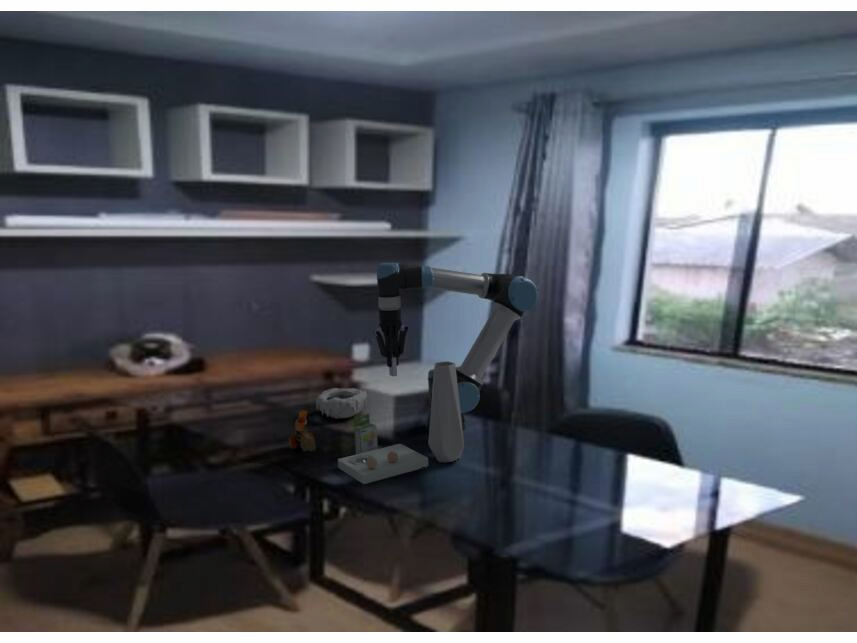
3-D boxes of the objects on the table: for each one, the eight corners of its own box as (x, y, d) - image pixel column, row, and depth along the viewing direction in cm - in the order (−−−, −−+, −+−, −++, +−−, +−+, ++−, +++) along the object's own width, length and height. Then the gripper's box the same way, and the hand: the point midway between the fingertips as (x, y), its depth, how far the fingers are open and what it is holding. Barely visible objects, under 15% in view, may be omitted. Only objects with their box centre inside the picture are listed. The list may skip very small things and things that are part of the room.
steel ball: (365, 458, 258) (356, 456, 256) (370, 461, 255) (361, 459, 253) (362, 468, 258) (353, 467, 256) (367, 471, 255) (358, 470, 253)
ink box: (362, 457, 267) (359, 420, 264) (355, 454, 270) (353, 417, 267) (378, 452, 271) (376, 415, 269) (371, 449, 274) (369, 413, 272)
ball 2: (394, 459, 255) (394, 449, 254) (400, 462, 252) (399, 452, 252) (385, 461, 253) (384, 451, 253) (390, 464, 250) (390, 454, 250)
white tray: (400, 451, 271) (400, 443, 270) (428, 466, 256) (428, 457, 255) (338, 467, 258) (337, 459, 258) (363, 484, 243) (363, 475, 243)
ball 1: (374, 465, 250) (373, 455, 250) (379, 468, 248) (378, 458, 247) (364, 467, 249) (363, 457, 248) (369, 471, 246) (369, 460, 245)
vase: (455, 468, 253) (451, 369, 247) (425, 462, 259) (420, 366, 253) (473, 456, 263) (470, 361, 257) (443, 451, 269) (440, 358, 264)
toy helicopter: (310, 442, 284) (307, 406, 282) (326, 460, 266) (323, 421, 263) (288, 446, 281) (285, 410, 279) (303, 464, 262) (300, 425, 260)
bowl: (365, 423, 304) (364, 398, 302) (313, 425, 305) (311, 400, 303) (370, 407, 325) (368, 384, 323) (321, 409, 325) (319, 386, 323)
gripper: (400, 304, 272) (403, 370, 276) (367, 309, 265) (371, 376, 269) (411, 307, 266) (415, 374, 270) (378, 312, 259) (382, 380, 263)
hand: (393, 375), depth 270 cm, fingers closed
